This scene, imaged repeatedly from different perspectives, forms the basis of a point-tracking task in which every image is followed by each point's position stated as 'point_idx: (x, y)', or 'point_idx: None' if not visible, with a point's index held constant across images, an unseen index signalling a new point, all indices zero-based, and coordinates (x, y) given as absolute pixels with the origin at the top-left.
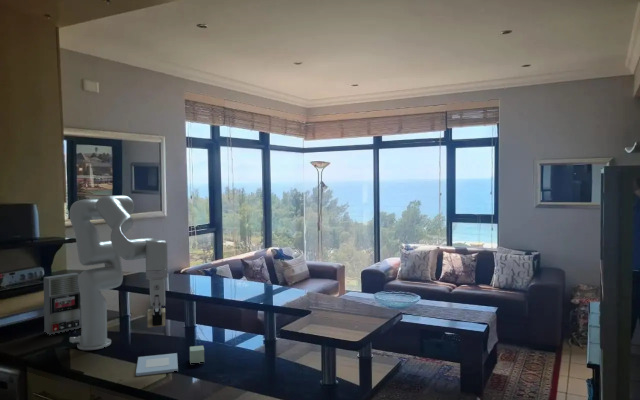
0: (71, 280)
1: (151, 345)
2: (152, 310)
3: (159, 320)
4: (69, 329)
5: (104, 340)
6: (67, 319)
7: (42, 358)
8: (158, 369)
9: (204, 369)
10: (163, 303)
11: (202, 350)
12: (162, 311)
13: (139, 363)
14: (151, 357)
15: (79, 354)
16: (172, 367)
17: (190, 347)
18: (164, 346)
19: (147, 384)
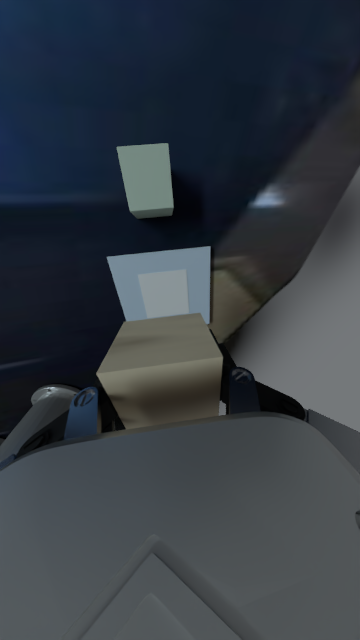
0: None
1: (43, 321)
2: (156, 418)
3: (226, 350)
4: (1, 441)
5: (59, 397)
6: None
7: (120, 426)
8: (203, 288)
9: (216, 168)
10: (341, 457)
11: (168, 153)
12: (194, 373)
13: None
14: (134, 310)
15: None
16: (200, 260)
17: (137, 207)
18: (44, 293)
19: (249, 298)
